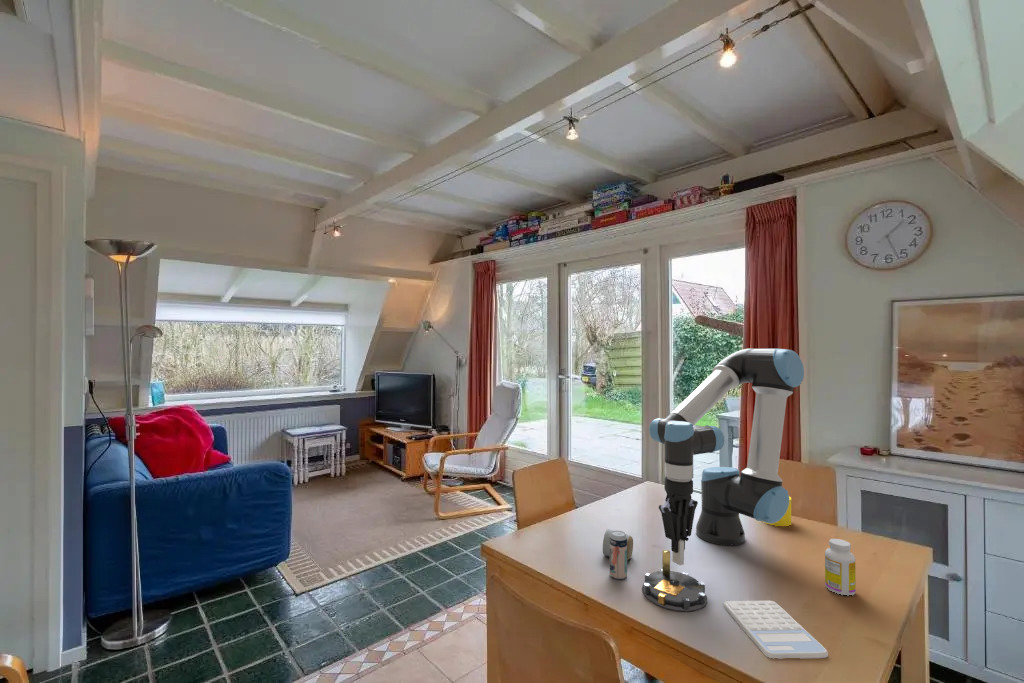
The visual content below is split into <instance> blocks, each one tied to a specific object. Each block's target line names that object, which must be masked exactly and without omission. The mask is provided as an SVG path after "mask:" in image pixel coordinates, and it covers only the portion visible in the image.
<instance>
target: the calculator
mask: <svg viewBox="0 0 1024 683" xmlns="http://www.w3.org/2000/svg"><path fill="white" fill-rule="evenodd" d="M723 608H724V609H725V611H726V612H728V614H729V615H730V616H731V617H732V618H733V619H734V621H735V622H736V623H737V625H738V626H739V627H740V628H741V629H742V630H743V631H744V633H745V634H746V635H747V636H748V637H749V638H750V640H751V641H752V642H753V643H754V644H755V646H757V647H758V648H759V650H760V652H762V653H763V655H764V656H765V657H766V658H768V657H769V659H771V658H773V659H772V660H774V658H778V659H777V660H781V659H782V660H783V658H800V659H825V658H828V657H829V653H828V650H827V649H826V648H825V647H824V646H823V645H822V644H821V643H820V642H819V640H817V639H816V638H815V637H814V636H813V635H812V634H811V633H810V632H808V631H807V630H806V629H805V628H804V627H803V626H802V625H801V624H800V623H799V622H797V621H796V619H794V618H793V617H792V616H791V615H790V614H789V613H788V612H787V611H786V610H785V609H784V608H782V607H781V606H780V604H778V603H777V602H776V601H774V600H728V601H727V600H726V601H724V602H723Z"/></svg>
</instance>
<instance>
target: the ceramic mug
mask: <svg viewBox="0 0 1024 683" xmlns="http://www.w3.org/2000/svg"><path fill="white" fill-rule="evenodd" d="M612 531H614V530H611V529H606V531H605V532H604V535H603V540H602V555H603V556H605V557H609V558H610V535H611V533H612ZM625 534H626V536H627V561H629V560H630V559H631V558H632V556H633V551H634V538H633V536H631V535H629V534H628V533H625Z"/></svg>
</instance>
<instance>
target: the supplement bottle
mask: <svg viewBox="0 0 1024 683" xmlns="http://www.w3.org/2000/svg"><path fill="white" fill-rule="evenodd" d="M828 544H829V547H828V548H827V549H825V551H824V581H825V583H824V584H825V587H826V589H827V588H828V589H827V590H828V591H830V592H831V591H832V593H833V592H835V593H834V594H836V593H837V594H836V595H839V594H841V595H840V596H843V595H847V596H846V597H850V596H849V595H852V596H854V595H855V594H856V589H857V588H856V586H857V585H856V584H857V582H856V580H857V579H856V557H855V555H854V554H853V553H852V552H851V549H852V546H851V543H850V542H848V541H847V540H845V539H839V538H830V539H829V540H828Z"/></svg>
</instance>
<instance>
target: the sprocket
mask: <svg viewBox="0 0 1024 683" xmlns="http://www.w3.org/2000/svg"><path fill="white" fill-rule="evenodd" d="M661 553H662V557H661V558H662V561H661V562H662V563H661V564H662V565H661V567H662V568H661V569H660V570H659V571H658V570H657V571H654V572H651V573H649V572H646V573H645V574H644V583H643V584H644V592H645V594H650V595H651V596H652V597H653V598H655V599H656V600H658V603H660V604H662V605H664V604H668V605H673V606H679V607H683V608H684V609H690V606H694V605H697V604H699V603H702V604H704V603H705V602H706V595H707V593H706V585H705V583H704V582H703V581H699V580H697V579H696V578H695V577H692V576H690V574H689V573H688V572H685V571H682V572H679V571H674V570H671V551H670V550H668V549H662V552H661ZM645 582H646V583H645ZM703 592H705V593H703Z"/></svg>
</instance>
